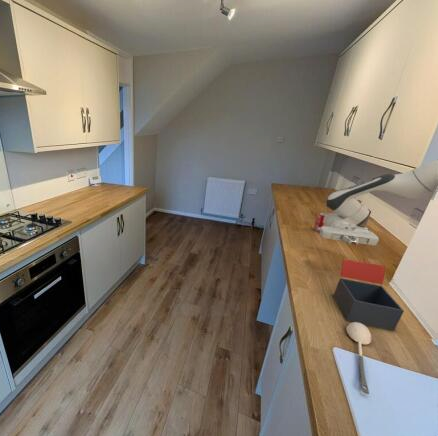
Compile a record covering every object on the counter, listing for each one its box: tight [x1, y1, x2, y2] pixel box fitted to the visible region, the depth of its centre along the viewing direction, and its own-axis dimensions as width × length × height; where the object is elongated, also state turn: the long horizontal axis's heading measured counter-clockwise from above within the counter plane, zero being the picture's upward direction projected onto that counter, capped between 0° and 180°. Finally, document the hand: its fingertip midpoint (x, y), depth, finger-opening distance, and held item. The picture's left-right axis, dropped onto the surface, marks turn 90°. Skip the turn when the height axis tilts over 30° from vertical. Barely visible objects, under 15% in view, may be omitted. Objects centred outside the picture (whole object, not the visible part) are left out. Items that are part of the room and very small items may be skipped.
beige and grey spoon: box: [346, 321, 372, 395], centre depth 69 cm, size 6×28×5 cm, turn 143°
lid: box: [339, 258, 386, 285], centre depth 90 cm, size 7×13×1 cm
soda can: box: [313, 212, 328, 233], centre depth 155 cm, size 7×7×12 cm
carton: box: [333, 277, 405, 332], centre depth 85 cm, size 14×13×8 cm
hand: (354, 242), depth 98 cm, fingers closed
